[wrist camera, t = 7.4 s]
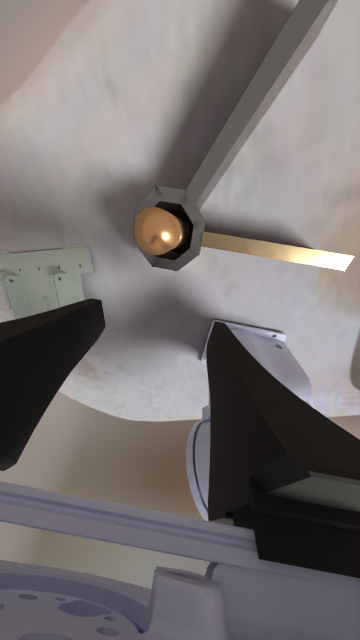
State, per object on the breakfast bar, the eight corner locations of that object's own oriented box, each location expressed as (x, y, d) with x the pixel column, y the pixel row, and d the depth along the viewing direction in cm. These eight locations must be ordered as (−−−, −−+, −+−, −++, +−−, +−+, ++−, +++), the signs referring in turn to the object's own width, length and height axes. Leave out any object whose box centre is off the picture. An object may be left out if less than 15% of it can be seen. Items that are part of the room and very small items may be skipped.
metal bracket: (96, 356, 19) (2, 351, 21) (121, 339, 24) (45, 337, 27) (73, 229, 15) (-35, 241, 18) (108, 243, 21) (22, 251, 24)
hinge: (438, 29, 8) (631, -139, 5) (296, 282, 16) (325, 298, 12) (159, 7, 9) (127, -150, 6) (150, 256, 17) (134, 263, 13)
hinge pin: (191, 220, 15) (177, 210, 8) (187, 247, 16) (172, 258, 9) (167, 216, 15) (134, 203, 8) (165, 243, 16) (135, 251, 9)
